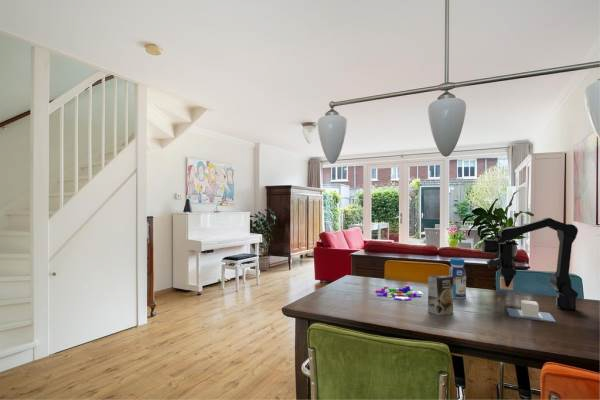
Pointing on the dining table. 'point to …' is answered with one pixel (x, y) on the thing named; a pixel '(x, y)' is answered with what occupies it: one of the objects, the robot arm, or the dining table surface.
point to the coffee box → (440, 294)
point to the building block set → (393, 292)
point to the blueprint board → (542, 316)
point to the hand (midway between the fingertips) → (506, 285)
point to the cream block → (529, 308)
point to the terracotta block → (503, 286)
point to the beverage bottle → (458, 277)
